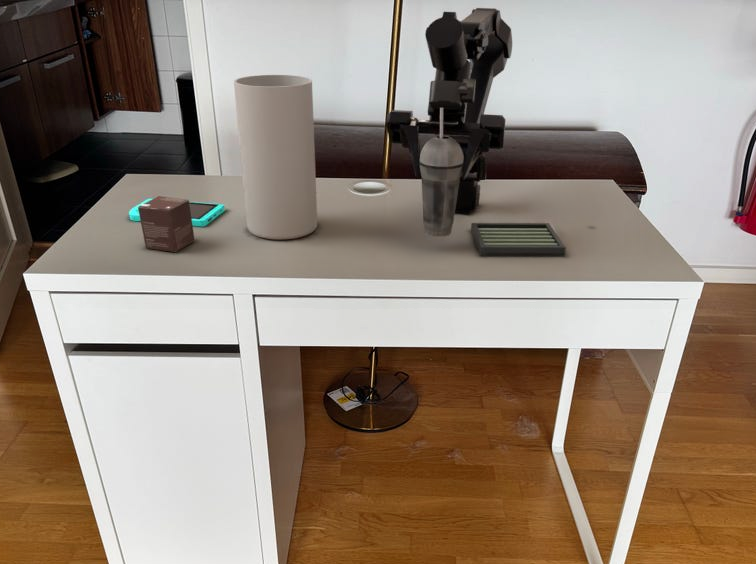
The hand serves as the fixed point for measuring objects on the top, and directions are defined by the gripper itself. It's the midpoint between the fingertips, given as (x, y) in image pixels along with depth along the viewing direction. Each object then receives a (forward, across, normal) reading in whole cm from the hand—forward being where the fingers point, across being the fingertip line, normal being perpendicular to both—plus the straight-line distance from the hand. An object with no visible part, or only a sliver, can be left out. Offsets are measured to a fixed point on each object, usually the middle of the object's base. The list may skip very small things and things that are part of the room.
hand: (439, 176), depth 108 cm
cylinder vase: (+5, -28, +13) cm, 32 cm away
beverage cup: (+6, 0, +8) cm, 10 cm away
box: (+14, -44, +4) cm, 47 cm away
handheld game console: (+3, -50, +15) cm, 52 cm away
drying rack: (+4, +13, +14) cm, 20 cm away
